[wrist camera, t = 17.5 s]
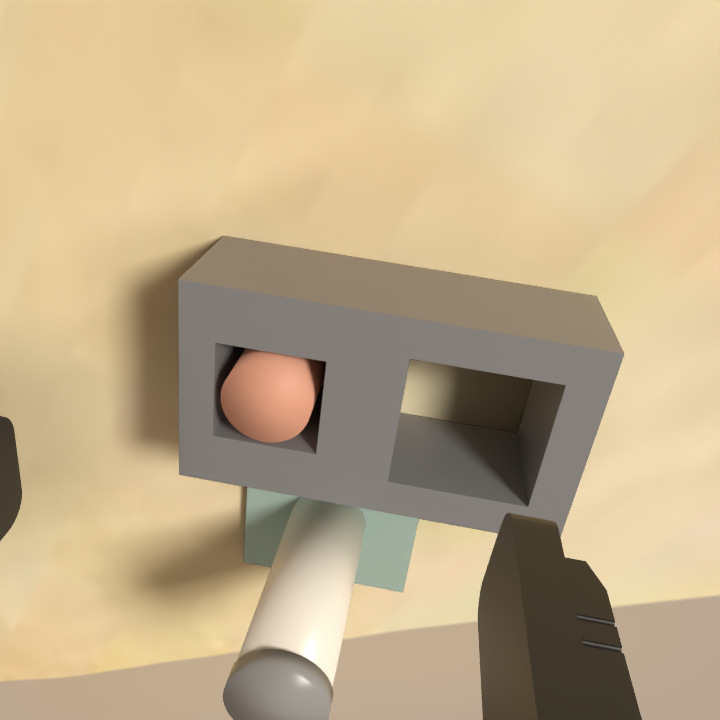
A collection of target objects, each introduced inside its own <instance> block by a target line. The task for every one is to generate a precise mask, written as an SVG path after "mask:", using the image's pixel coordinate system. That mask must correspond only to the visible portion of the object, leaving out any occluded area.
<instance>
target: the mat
mask: <svg viewBox="0 0 720 720" xmlns="http://www.w3.org/2000/svg"><path fill="white" fill-rule="evenodd" d="M300 498H301V497H298V496H292V495H287V494H282V493H276V492H271V491H265V490H260V489H254V488H249V487H247V505H246V523H245V541H244V559H243V562H246V563H251V564H256V565H261V566H267V567H271V566H272V564H273V561H274V558H275V555H276V553H277V550H278V547H279V544H280V542H281V539H282V536H283V533H284V531H285V528H286V525H287V523H288V520H289V517H290V514H291V512H292V509H293V506H294V505H295V503H296V502H297V500H298V499H300ZM360 509H361V511H362V512H363V514H364V517H365V522H366V528H365V533H364V537H363V542H362V547H361V552H360V557H359V561H358V566H357V571H356V576H355V581H354V583H356V584H361V585H366V586H372V587H377V588H382V589H387V590H393V591H398V592H403V590H404V586H405V581H406V576H407V572H408V567H409V562H410V558H411V553H412V548H413V544H414V539H415V534H416V530H417V525H418V520H419V519H418V518H412V517H407V516H401V515H396V514H390V513H385V512H379V511H374V510H369V509H363V508H360Z"/></svg>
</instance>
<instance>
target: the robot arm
mask: <svg viewBox="0 0 720 720" xmlns="http://www.w3.org/2000/svg"><path fill="white" fill-rule="evenodd" d="M21 499H22V488H21V480H20V472H19V464H18V457H17V449H16V441H15V434H14V428H13V424H12V422H11V421H10V420H9V419H8V418H6V417H2V416H0V541H1V539H2V538H3V537H4V536H5V535H6V533H7V532H8V531H9V529H10V528H11V527H12V525H13V523H14V521H15V519H16V517H17V515H18V512H19V509H20V505H21ZM614 623H615V620H614V616H613V612H612V608H611V605H610V601H609V597H608V594H607V590H606V589H605V587H604V586H603V585H602V583H601V582H600V580H599V579H598V578H597V576H596V575H595V574H594V572H593V571H592V569H591V568H590V567H589V565H588V564H587V562H586V561H581V560H575V559H570V558H565V557H564V552H563V548H562V543H561V538H560V534H559V529H558V526H557V524H556V522H554V521H550V520H545V519H539V518H534V517H529V516H523V515H518V514H513V513H507V514H506V515H505V516H504V519H503V521H502V524H501V527H500V530H499V533H498V536H497V539H496V542H495V545H494V548H493V551H492V554H491V557H490V560H489V563H488V566H487V570H486V573H485V576H484V579H483V582H482V586H481V591H480V597H479V606H478V632H479V651H480V668H481V669H480V670H481V690H482V709H483V720H642V719H641V715H640V712H639V708H638V704H637V700H636V697H635V693H634V689H633V686H632V682H631V678H630V675H629V671H628V667H627V664H626V660H625V656H624V654H623V653H622V652H621V648H622V645H621V642H620V638H619V635H618V630H617V627H615V626H614Z"/></svg>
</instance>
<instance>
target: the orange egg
mask: <svg viewBox="0 0 720 720" xmlns="http://www.w3.org/2000/svg"><path fill="white" fill-rule="evenodd" d="M325 371H326V362H325V361H319V360H313V359H307V358H302V357H296V356H290V355H284V354H278V353H272V352H267V351H261V350H255V349H249V348H245V350H244V352H243V353H242V355H241V356H240V358H239V359H238V361H237V363H236V364H235V366H234V367H233V369H232V371H231V372H230V374H229V375H228V377H227V378H226V380H225V382H224V384H223V386H222V390H221V405H222V408H223V411H224V413H225V416H226V417H227V419H228V420H229V422H230V423H231V424H232V425H233V426H234V427H235V428H236V429H237V430H238V431H240V432H241V433H242V434H244V435H246V436H248V437H250V438H252V439H255V440H258V441H262V442H271V443H275V442H282V441H286V440H289V439H291V438H293V437H295V436H296V435H298V434H299V433H300V432H301V431H302V430H303V429H304V428H305V426H306V425H307V423H308V421H309V418H310V415H311V412H312V410H313V407H314V404H315V402H316V399H317V396H318V393H319V391H320V388H321V385H322V382H323V380H324V377H325Z"/></svg>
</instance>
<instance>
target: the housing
mask: <svg viewBox="0 0 720 720" xmlns="http://www.w3.org/2000/svg"><path fill="white" fill-rule="evenodd" d="M178 346H179V475H184V476H189V477H194V478H200V479H205V480H211V481H216V482H222V483H227V484H233V485H238V486H243V487H249V488H254V489H260V490H265V491H271V492H276V493H282V494H287V495H292V496H298V497H303V498H309V499H314V500H320V501H325V502H331V503H336V504H341V505H347V506H352V507H358V508H363V509H369V510H374V511H379V512H385V513H390V514H396V515H401V516H407V517H412V518H418V519H423V520H428V521H434V522H439V523H445V524H450V525H456V526H461V527H467V528H472V529H477V530H483V531H488V532H494V533H499V530H500V527H501V524H502V521H503V519H504V516H505V515H506V514H507V513H513V514H518V515H523V516H529V517H534V518H539V519H545V520H550V521H554V522H556V524H557V526H558V529H559V534H560V536H561V534H562V531H563V528H564V525H565V522H566V519H567V516H568V514H569V511H570V508H571V505H572V502H573V499H574V496H575V494H576V491H577V488H578V485H579V482H580V479H581V476H582V474H583V471H584V468H585V465H586V462H587V459H588V456H589V454H590V451H591V448H592V445H593V442H594V439H595V436H596V434H597V431H598V428H599V425H600V422H601V419H602V416H603V414H604V411H605V408H606V405H607V402H608V399H609V396H610V394H611V391H612V388H613V385H614V382H615V379H616V376H617V374H618V371H619V368H620V365H621V362H622V359H623V356H624V352H623V350H622V348H621V346H620V343H619V341H618V339H617V337H616V335H615V333H614V331H613V329H612V327H611V325H610V323H609V321H608V319H607V317H606V314H605V312H604V310H603V308H602V306H601V304H600V302H599V300H598V298H597V296H592V295H586V294H579V293H573V292H567V291H561V290H555V289H549V288H542V287H536V286H530V285H524V284H518V283H512V282H505V281H499V280H493V279H487V278H481V277H475V276H468V275H462V274H456V273H450V272H444V271H438V270H431V269H425V268H419V267H413V266H407V265H401V264H394V263H388V262H382V261H376V260H370V259H364V258H357V257H351V256H345V255H339V254H333V253H327V252H320V251H314V250H308V249H302V248H296V247H290V246H283V245H277V244H271V243H265V242H259V241H253V240H246V239H240V238H234V237H228V236H223V237H222V238H221V239H220V240H219V241H218V242H217V243H216V244H215V245H213V246H212V247H211V248H210V249H209V250H208V251H207V252H206V253H205V254H204V255H203V256H202V257H201V258H200V259H199V260H198V261H197V262H196V263H195V264H194V265H193V266H192V267H190V268H189V269H188V270H187V271H186V272H185V273H184V274H183V275H182V276H181V277H180V278H179V279H178ZM245 348H249V349H255V350H261V351H267V352H272V353H278V354H284V355H290V356H296V357H302V358H307V359H313V360H319V361H325V362H326V371H325V379H324V386H321V388H320V391H319V393H318V396H317V399H316V402H315V404H314V407H313V410H312V412H311V415H310V418H309V421H308V423H307V425H306V426H305V428H304V429H303V430H302V431H301V432H300V433H299V434H298V435H296V436H295V437H293V438H291V439H289V440H286V441H282V442H275V443H271V442H262V441H258V440H255V439H252V438H250V437H248V436H246V435H244V434H242V433H241V432H240V431H238V430H237V429H236V428H235V427H234V426H233V425H232V424H231V423H230V422H229V420H228V419H227V417H226V416H225V413H224V411H223V408H222V405H221V390H222V386H223V384H224V382H225V380H226V378H227V377H228V375H229V374H230V372H231V371H232V369H233V367H234V366H235V364H236V363H237V361H238V359H239V358H240V356H241V355H242V353H243V352H244V350H245ZM410 359H414V360H420V361H426V362H432V363H438V364H444V365H450V366H455V367H461V368H467V369H473V370H479V371H485V372H491V373H497V374H502V375H508V376H514V377H520V378H526V379H532V380H533V381H532V385H531V389H530V392H529V396H528V399H527V403H526V406H525V410H524V413H523V417H522V420H521V424H520V427H519V431H518V433H513V432H507V431H502V430H496V429H490V428H485V427H479V426H473V425H467V424H462V423H456V422H450V421H445V420H439V419H433V418H427V417H422V416H416V415H410V414H405V413H400V410H401V405H402V399H403V394H404V388H405V382H406V377H407V371H408V366H409V360H410Z"/></svg>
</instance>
